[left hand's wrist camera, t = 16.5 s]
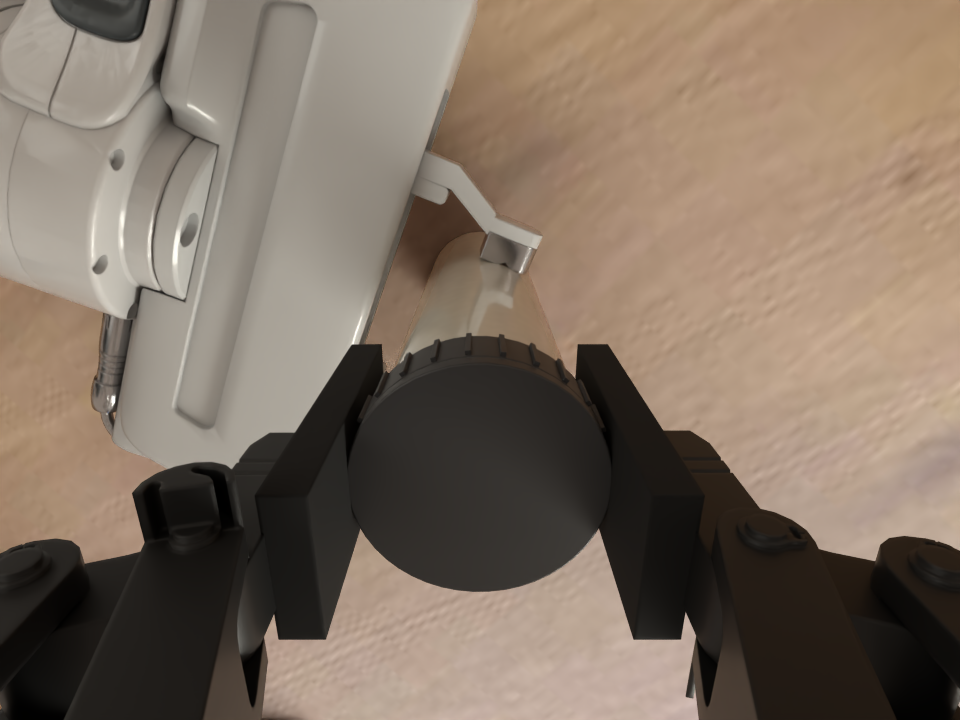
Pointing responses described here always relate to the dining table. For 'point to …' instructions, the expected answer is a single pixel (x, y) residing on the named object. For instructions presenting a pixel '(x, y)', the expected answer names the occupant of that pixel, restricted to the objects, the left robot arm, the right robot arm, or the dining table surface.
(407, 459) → the lid
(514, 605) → the dining table surface
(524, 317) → the beige bottle
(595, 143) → the dining table surface
